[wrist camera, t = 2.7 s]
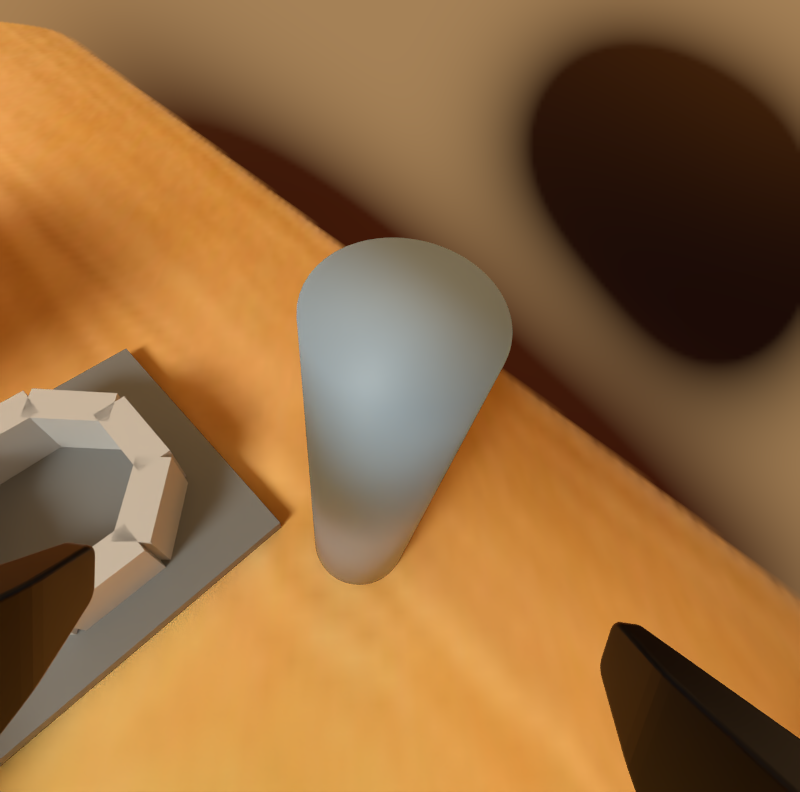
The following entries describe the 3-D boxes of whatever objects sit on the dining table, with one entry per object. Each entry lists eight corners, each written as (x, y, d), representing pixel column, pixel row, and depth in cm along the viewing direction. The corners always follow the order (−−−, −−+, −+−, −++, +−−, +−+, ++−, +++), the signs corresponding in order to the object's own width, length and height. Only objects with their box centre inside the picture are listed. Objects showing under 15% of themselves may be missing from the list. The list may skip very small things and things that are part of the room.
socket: (-8, 772, 15) (-79, 789, 13) (-149, 514, 18) (-230, 484, 16) (281, 526, 20) (274, 501, 17) (130, 356, 23) (105, 312, 20)
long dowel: (357, 605, 19) (409, 454, 7) (296, 536, 20) (250, 301, 8) (421, 539, 20) (554, 324, 9) (362, 478, 21) (405, 211, 10)
